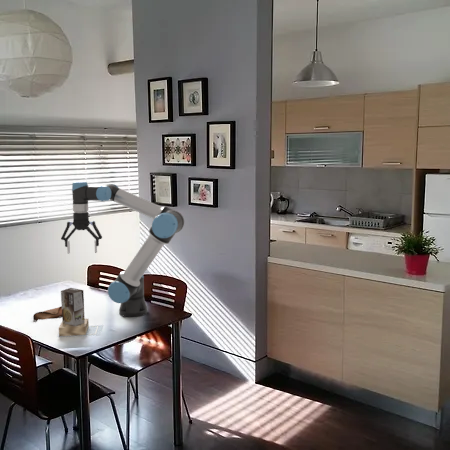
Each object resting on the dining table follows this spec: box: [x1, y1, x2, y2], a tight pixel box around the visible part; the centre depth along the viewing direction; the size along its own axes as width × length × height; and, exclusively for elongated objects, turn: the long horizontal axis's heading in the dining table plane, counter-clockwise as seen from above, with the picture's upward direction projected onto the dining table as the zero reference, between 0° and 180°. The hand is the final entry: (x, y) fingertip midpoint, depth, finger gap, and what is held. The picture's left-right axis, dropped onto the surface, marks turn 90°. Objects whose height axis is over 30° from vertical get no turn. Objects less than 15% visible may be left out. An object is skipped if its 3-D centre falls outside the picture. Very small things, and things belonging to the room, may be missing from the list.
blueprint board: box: [56, 324, 104, 338], centre depth 241 cm, size 20×14×1 cm
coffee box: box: [60, 287, 86, 326], centre depth 239 cm, size 9×6×16 cm
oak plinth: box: [58, 318, 90, 337], centre depth 241 cm, size 12×12×4 cm
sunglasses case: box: [32, 305, 62, 321], centre depth 266 cm, size 18×7×7 cm, turn 143°
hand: (82, 252), depth 259 cm, fingers open, 13 cm apart
